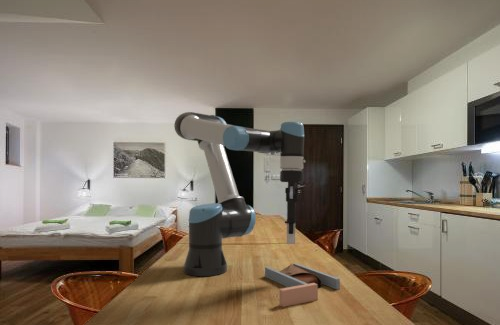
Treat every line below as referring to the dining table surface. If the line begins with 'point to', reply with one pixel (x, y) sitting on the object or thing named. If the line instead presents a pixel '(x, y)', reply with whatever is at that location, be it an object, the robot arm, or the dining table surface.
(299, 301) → the gate
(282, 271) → the sunglasses case
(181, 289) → the dining table surface
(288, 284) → the channel
